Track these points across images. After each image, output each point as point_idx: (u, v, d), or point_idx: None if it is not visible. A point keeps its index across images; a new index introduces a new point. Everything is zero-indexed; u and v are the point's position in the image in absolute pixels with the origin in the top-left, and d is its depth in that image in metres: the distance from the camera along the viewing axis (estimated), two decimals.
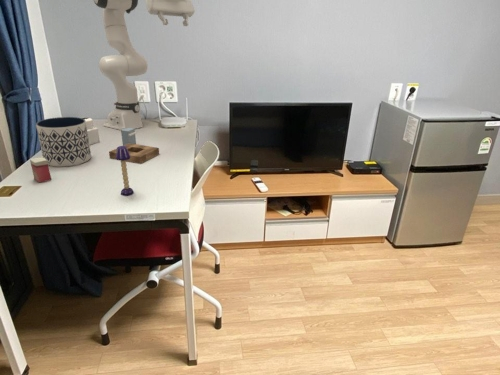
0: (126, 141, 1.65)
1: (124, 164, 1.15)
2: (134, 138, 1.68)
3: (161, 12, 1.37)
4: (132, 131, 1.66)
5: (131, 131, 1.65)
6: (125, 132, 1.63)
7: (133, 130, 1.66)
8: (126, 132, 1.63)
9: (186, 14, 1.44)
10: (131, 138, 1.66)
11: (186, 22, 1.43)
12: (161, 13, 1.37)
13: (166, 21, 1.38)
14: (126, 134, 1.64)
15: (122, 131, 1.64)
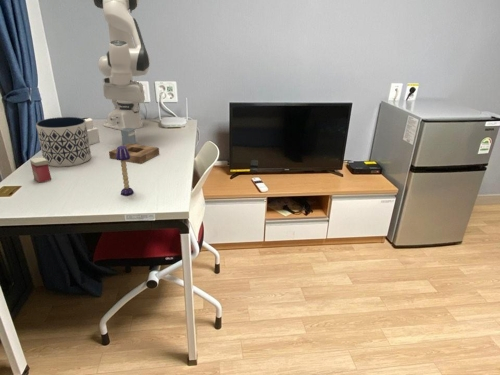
0: (126, 141, 1.65)
1: (124, 164, 1.15)
2: (134, 138, 1.68)
3: (113, 100, 1.60)
4: (132, 131, 1.66)
5: (131, 131, 1.65)
6: (125, 132, 1.63)
7: (133, 130, 1.66)
8: (126, 132, 1.63)
9: (134, 102, 1.57)
10: (131, 138, 1.66)
11: (132, 109, 1.59)
12: (112, 101, 1.61)
13: (116, 108, 1.62)
14: (126, 134, 1.64)
15: (122, 131, 1.64)
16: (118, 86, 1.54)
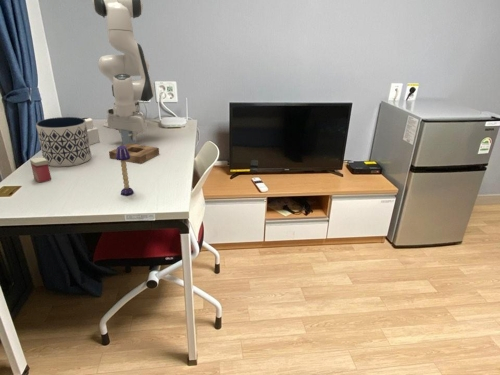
0: (126, 141, 1.65)
1: (124, 164, 1.15)
2: None
3: (120, 130, 1.66)
4: None
5: (131, 131, 1.65)
6: (125, 132, 1.63)
7: None
8: (126, 132, 1.63)
9: (133, 132, 1.63)
10: None
11: (132, 138, 1.65)
12: (119, 130, 1.66)
13: None
14: (126, 134, 1.63)
15: (122, 131, 1.64)
16: (122, 117, 1.60)
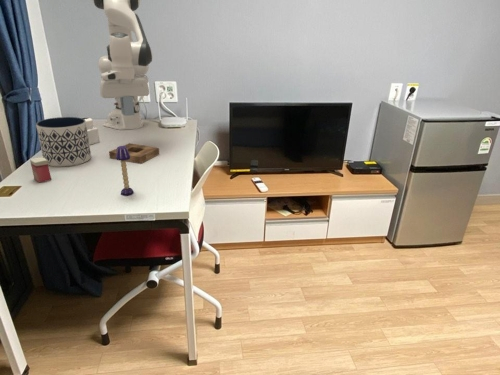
0: (130, 109, 1.50)
1: (124, 164, 1.15)
2: None
3: (118, 98, 1.47)
4: None
5: None
6: (129, 98, 1.48)
7: None
8: (130, 98, 1.49)
9: (135, 97, 1.51)
10: None
11: (133, 105, 1.52)
12: (117, 99, 1.47)
13: (121, 106, 1.49)
14: (130, 100, 1.49)
15: (125, 98, 1.47)
16: (126, 81, 1.45)
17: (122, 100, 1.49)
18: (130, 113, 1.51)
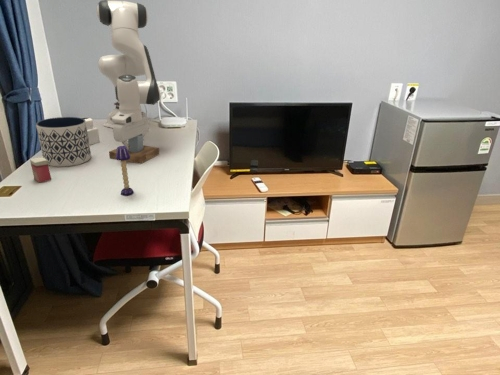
0: (141, 147, 1.54)
1: (124, 164, 1.15)
2: None
3: (126, 140, 1.46)
4: None
5: None
6: (141, 137, 1.52)
7: None
8: (142, 137, 1.53)
9: (142, 134, 1.56)
10: None
11: None
12: (126, 141, 1.46)
13: (128, 147, 1.48)
14: (141, 139, 1.53)
15: (138, 137, 1.51)
16: (137, 122, 1.47)
17: (133, 139, 1.51)
18: None
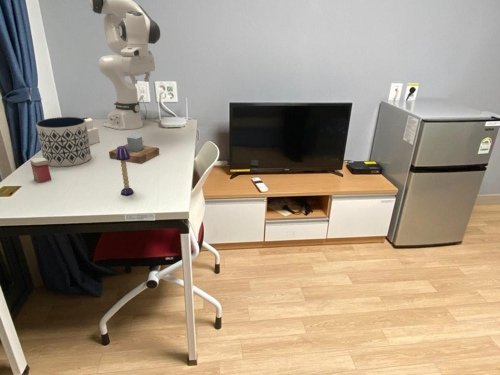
0: (140, 148, 1.54)
1: (124, 164, 1.15)
2: None
3: (134, 74, 1.55)
4: None
5: None
6: (140, 139, 1.52)
7: None
8: (140, 138, 1.52)
9: (149, 72, 1.65)
10: None
11: (148, 79, 1.66)
12: (134, 75, 1.55)
13: (136, 82, 1.58)
14: (140, 141, 1.53)
15: (137, 139, 1.50)
16: (144, 57, 1.57)
17: (132, 142, 1.51)
18: None
